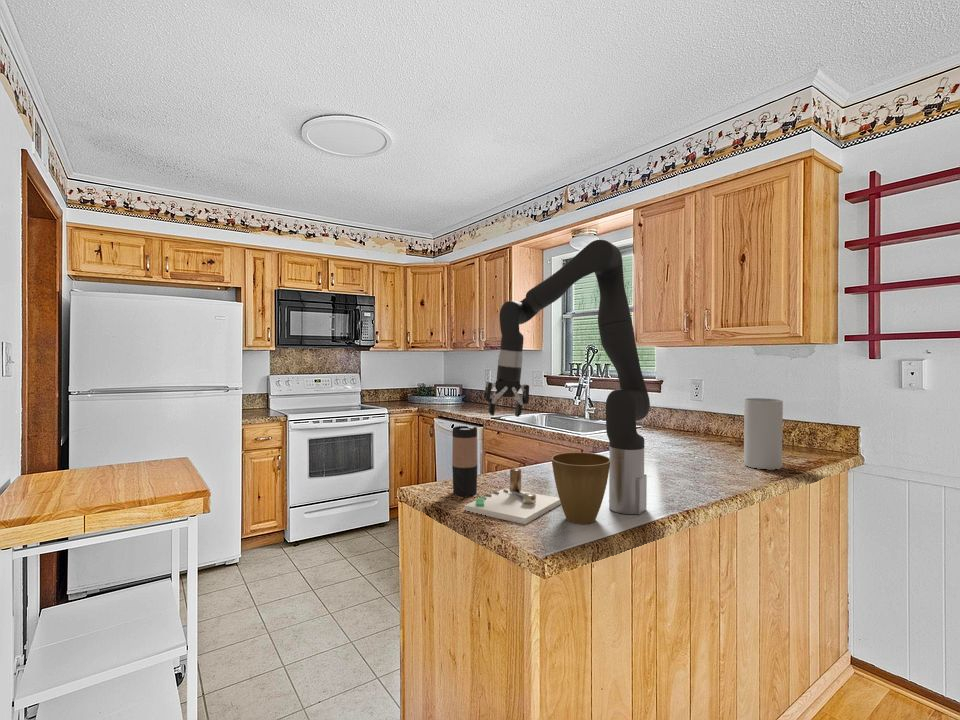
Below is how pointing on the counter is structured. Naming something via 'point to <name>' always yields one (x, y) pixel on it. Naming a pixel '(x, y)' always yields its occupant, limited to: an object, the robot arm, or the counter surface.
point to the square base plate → (512, 506)
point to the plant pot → (580, 484)
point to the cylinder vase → (763, 433)
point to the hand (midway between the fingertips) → (504, 415)
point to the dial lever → (516, 487)
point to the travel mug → (464, 460)
